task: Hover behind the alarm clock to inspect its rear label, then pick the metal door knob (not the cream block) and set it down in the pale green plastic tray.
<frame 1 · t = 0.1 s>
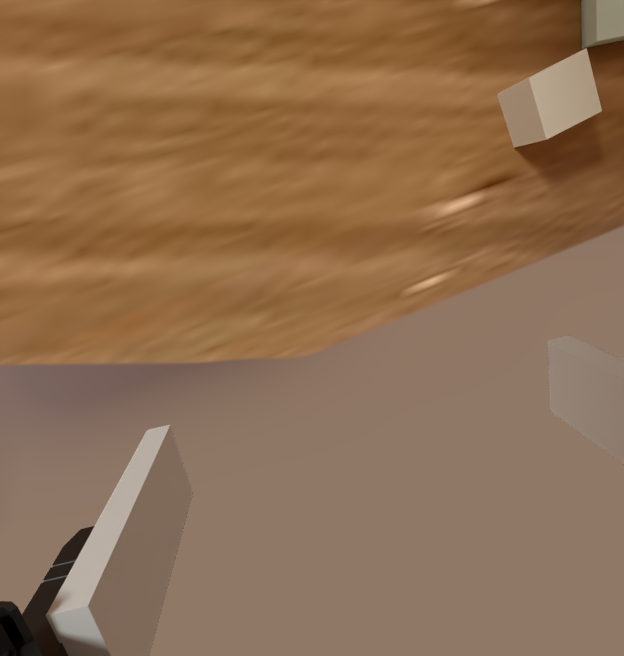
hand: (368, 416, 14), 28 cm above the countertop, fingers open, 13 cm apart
cream block: (529, 108, 39), on the countertop
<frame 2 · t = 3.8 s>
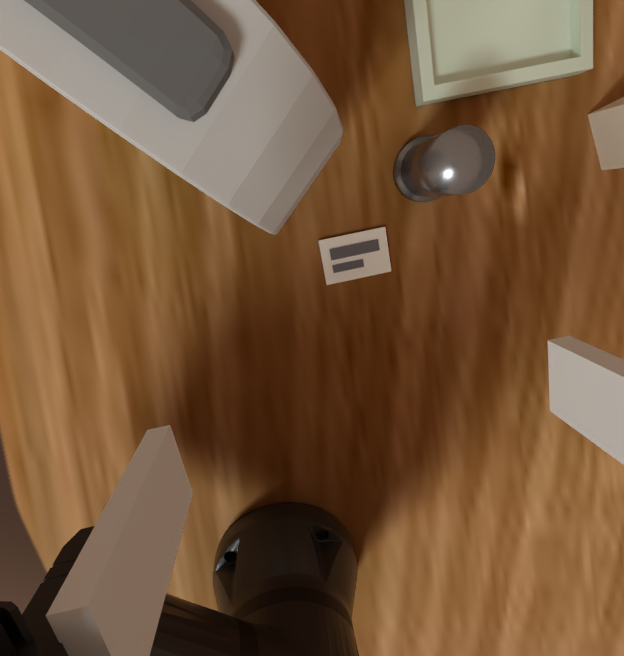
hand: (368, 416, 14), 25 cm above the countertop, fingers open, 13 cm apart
cream block: (620, 130, 37), on the countertop
label tile: (355, 255, 38), on the countertop
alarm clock: (190, 109, 33), on the countertop
metal door knob: (422, 170, 36), on the countertop
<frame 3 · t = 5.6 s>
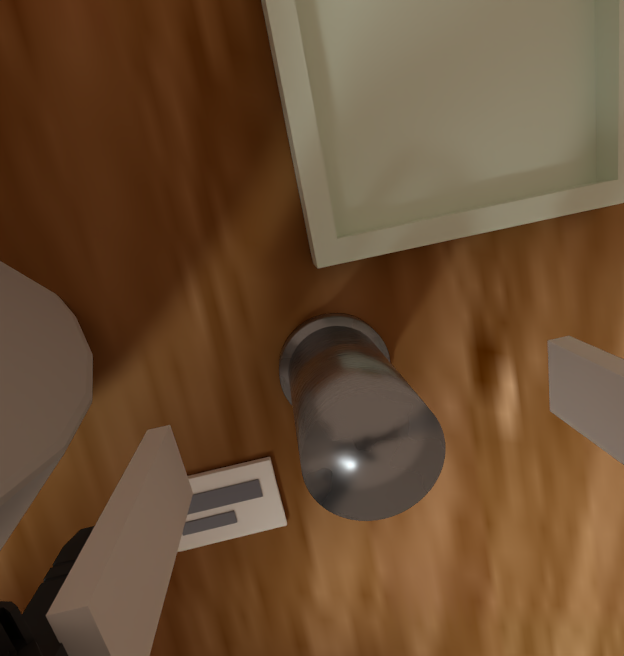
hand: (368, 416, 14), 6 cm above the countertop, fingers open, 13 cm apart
label tile: (221, 503, 22), on the countertop
tray: (446, 59, 17), on the countertop
metal door knob: (333, 365, 20), on the countertop
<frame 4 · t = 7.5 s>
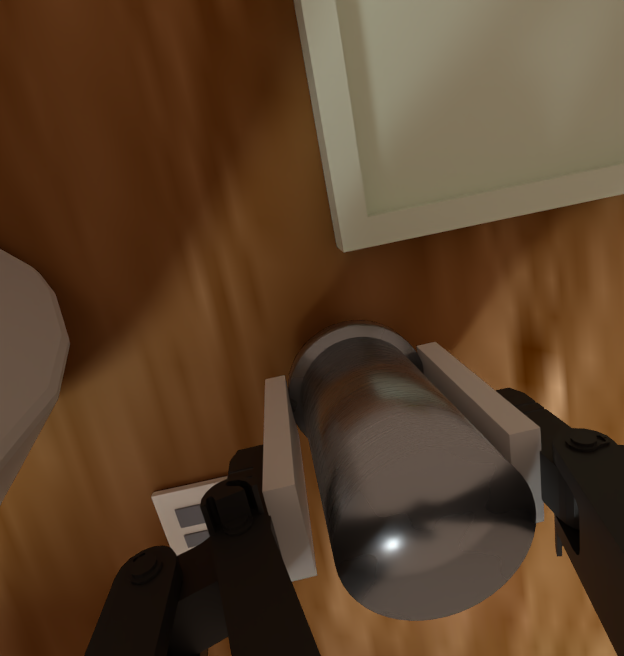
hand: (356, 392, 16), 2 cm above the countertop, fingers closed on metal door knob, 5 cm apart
label tile: (230, 513, 19), on the countertop
metal door knob: (354, 384, 16), point 1 cm above the countertop, touching gripper
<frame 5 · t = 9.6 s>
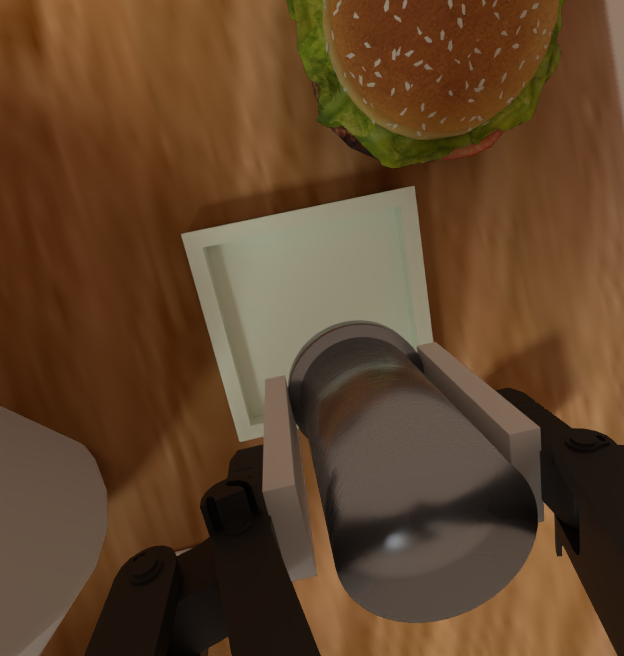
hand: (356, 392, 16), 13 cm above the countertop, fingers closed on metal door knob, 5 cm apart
tray: (318, 315, 28), on the countertop
food: (402, 43, 25), on the countertop
metal door knob: (354, 384, 16), point 12 cm above the countertop, touching gripper
when the fingers open (1 cm above the countertop, at t = 11.8 s): metal door knob stays where it is, resting on tray.
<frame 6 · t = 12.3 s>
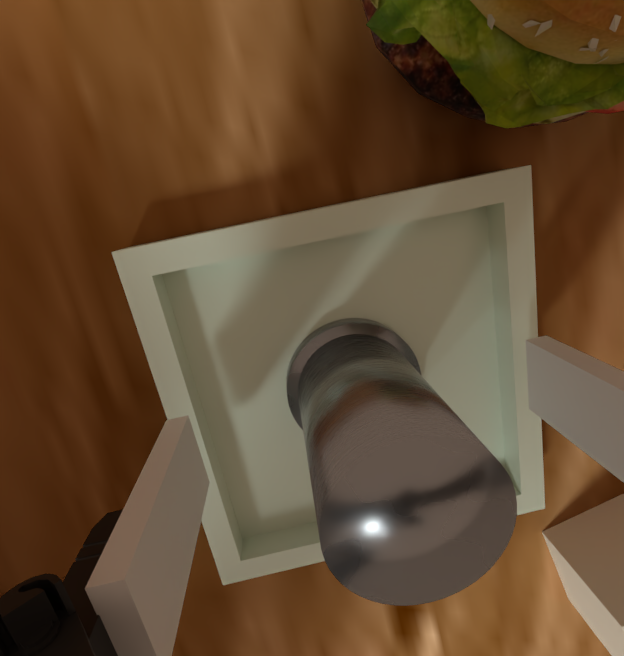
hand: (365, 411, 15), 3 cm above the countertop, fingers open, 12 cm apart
cream block: (599, 544, 21), on the countertop
tray: (350, 379, 17), on the countertop
metal door knob: (351, 380, 17), point 1 cm above the countertop, touching tray
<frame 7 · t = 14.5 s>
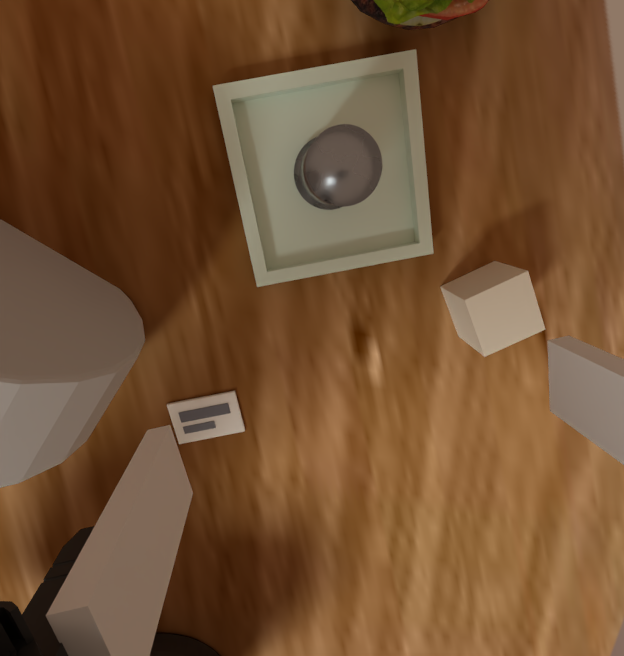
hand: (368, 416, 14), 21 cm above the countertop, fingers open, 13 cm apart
cream block: (475, 299, 36), on the countertop
label tile: (207, 416, 38), on the countertop
tray: (328, 177, 32), on the countertop
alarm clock: (26, 284, 33), on the countertop
metal door knob: (328, 173, 32), point 1 cm above the countertop, touching tray
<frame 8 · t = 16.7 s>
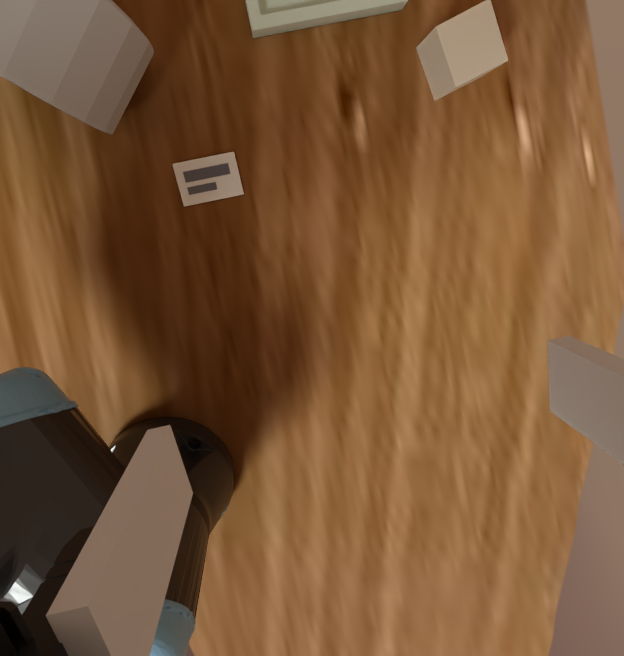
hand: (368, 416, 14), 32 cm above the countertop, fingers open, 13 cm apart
cream block: (448, 63, 41), on the countertop
label tile: (209, 179, 41), on the countertop
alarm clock: (44, 36, 37), on the countertop
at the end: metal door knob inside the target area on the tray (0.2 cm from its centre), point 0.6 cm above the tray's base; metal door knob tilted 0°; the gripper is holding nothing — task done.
